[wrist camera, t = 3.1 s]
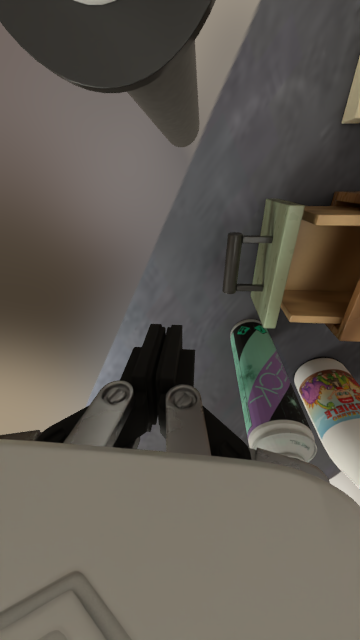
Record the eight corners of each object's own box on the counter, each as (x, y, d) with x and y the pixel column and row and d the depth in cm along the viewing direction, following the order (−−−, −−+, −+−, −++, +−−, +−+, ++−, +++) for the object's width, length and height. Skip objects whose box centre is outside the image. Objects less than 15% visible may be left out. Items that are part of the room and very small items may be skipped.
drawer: (218, 295, 31) (222, 326, 24) (226, 198, 25) (234, 205, 18) (358, 299, 30) (403, 333, 23) (401, 198, 24) (478, 205, 17)
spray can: (267, 347, 36) (327, 501, 19) (231, 350, 37) (256, 500, 20) (267, 316, 33) (337, 463, 16) (228, 321, 34) (255, 464, 17)
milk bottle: (349, 382, 38) (470, 548, 21) (300, 396, 40) (373, 555, 23) (338, 349, 35) (469, 511, 18) (286, 366, 37) (357, 524, 20)
